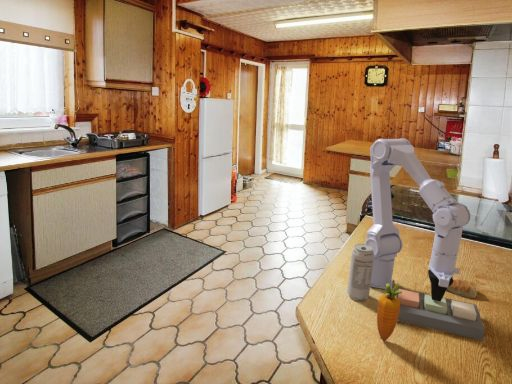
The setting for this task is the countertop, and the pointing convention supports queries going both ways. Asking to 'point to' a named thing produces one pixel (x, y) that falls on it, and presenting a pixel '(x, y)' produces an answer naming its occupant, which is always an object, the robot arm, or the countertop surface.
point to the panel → (442, 319)
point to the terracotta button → (409, 298)
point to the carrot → (388, 312)
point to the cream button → (463, 310)
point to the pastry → (463, 288)
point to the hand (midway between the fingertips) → (436, 299)
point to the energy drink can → (360, 272)
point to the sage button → (434, 305)
